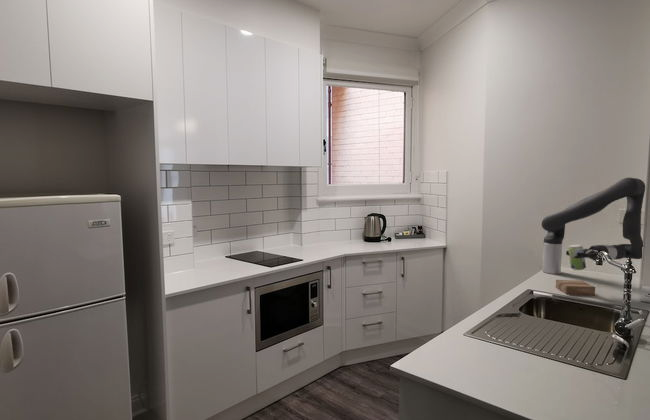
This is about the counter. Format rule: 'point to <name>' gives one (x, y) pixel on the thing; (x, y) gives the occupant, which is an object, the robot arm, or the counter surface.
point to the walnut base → (575, 287)
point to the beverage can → (574, 261)
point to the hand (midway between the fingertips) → (572, 254)
